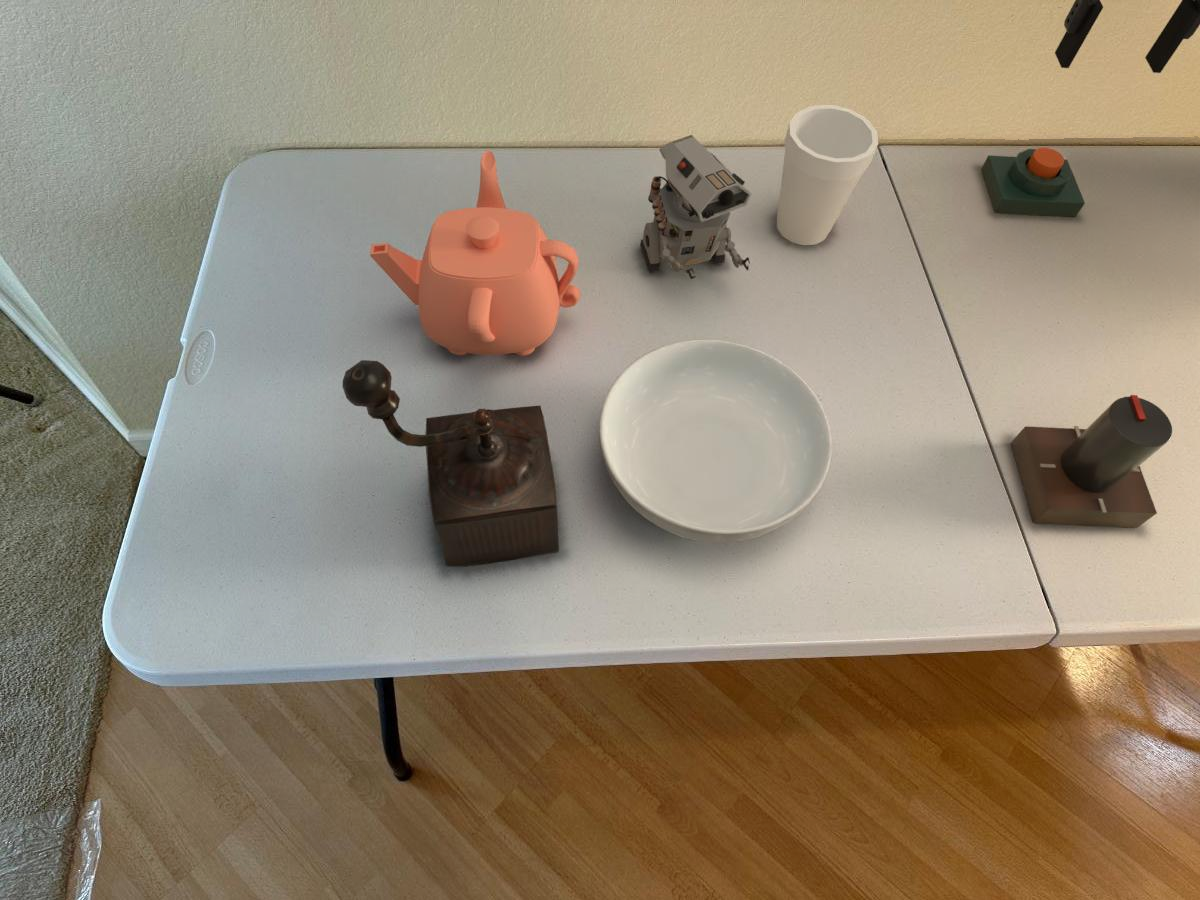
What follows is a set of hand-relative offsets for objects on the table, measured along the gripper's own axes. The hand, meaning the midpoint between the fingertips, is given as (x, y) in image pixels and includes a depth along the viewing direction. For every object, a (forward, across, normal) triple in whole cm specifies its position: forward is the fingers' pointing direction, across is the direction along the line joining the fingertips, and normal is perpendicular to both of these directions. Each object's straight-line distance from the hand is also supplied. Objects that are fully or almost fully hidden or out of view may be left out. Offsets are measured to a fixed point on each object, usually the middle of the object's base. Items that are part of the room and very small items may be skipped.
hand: (1107, 62), depth 86 cm
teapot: (+18, +65, +24) cm, 71 cm away
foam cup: (+18, +29, +8) cm, 35 cm away
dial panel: (+17, +6, +42) cm, 46 cm away
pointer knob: (+14, +6, +42) cm, 45 cm away
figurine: (+18, +43, +16) cm, 49 cm away
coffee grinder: (+18, +64, +48) cm, 82 cm away
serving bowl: (+18, +42, +42) cm, 62 cm away
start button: (+14, 0, 0) cm, 14 cm away
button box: (+17, 0, 0) cm, 17 cm away
